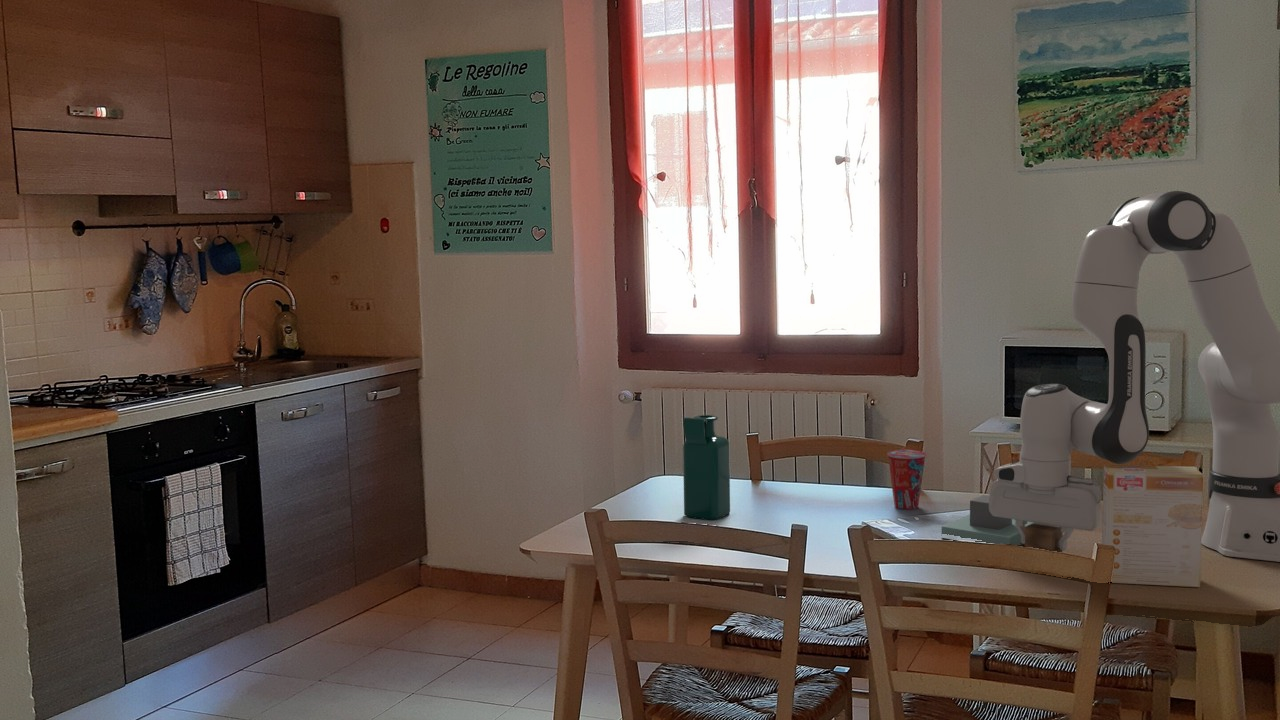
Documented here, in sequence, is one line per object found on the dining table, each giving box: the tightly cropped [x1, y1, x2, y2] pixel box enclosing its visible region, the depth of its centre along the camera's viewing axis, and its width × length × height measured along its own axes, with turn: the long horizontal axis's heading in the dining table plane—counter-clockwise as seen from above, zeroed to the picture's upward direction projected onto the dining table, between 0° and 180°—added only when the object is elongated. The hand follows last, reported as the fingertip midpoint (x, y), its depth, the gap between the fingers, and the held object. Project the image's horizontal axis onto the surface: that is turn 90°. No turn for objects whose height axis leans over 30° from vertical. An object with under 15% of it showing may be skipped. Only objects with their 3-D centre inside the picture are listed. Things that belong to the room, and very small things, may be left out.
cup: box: [886, 449, 927, 510], centre depth 256 cm, size 9×8×12 cm
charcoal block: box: [969, 494, 1012, 530], centre depth 229 cm, size 6×6×5 cm
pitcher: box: [682, 414, 731, 521], centre depth 251 cm, size 10×8×22 cm
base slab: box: [941, 514, 1034, 546], centre depth 229 cm, size 14×14×2 cm
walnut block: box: [1024, 523, 1064, 553], centre depth 214 cm, size 5×5×6 cm
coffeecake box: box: [1101, 464, 1204, 588], centre depth 199 cm, size 15×7×20 cm, turn 75°
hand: (1043, 546), depth 214 cm, fingers closed on walnut block, 5 cm apart
